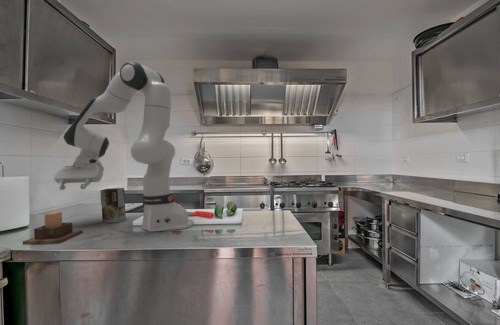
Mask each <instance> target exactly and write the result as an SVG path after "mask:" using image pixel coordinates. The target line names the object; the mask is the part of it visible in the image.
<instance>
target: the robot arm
mask: <svg viewBox="0 0 500 325" xmlns="http://www.w3.org/2000/svg"><path fill="white" fill-rule="evenodd" d="M165 82H166V81H165V79H164V77H162V75H161V74H160V73H159V72H157V71H154V70H153V69H151V68H150V67H148V66H146V65H143V64H141V63H139V62H135V61H127V62H125V63H123V65H121V68H120V70H119V71H118V72H116V73H115V74H114V76H113V77H112V79H111V80H110V81H109V83H108V85H107V87H106V90H105V91H104V92H103V93H102V94H100V95H99V96H94V97H92V98H91V99H90V100H89V102H88V103H86V105H85V106H84V108H83V109H82V110H81V112H80V113H79V115H78V116H77V117H76V119H74V121H73V122H72V124H70V125H69V126H68V127H67V128H66V129H65V131H64V133H63V140H64V142H65V143H66V144H67V145H69V146H72V147H76V148H78V149H80V151H79V154H78V155H77V156H76V158H75V159H74V162H73V163H72V165H65V166H63V167H61V168H60V169H59V170H58V171H57V172H56V174H55V175H54V176H53V180H54V181H55V182H56V183H57V184H59V186H58V188H59V190H60V191H64V190H65V189H66V188H67V187H66V186H65V185H66V184H77V183H81V184H80V186H79V187H80V189H81V190H85V189H86V188H87V187H88V186H89V185H91V183H99V182H100V181H101V180H102V178H103V176H104V171H105V168H104V166H103V164H102V163H101V161H100V160H99V159H100V158H102V157H104V156H105V155H106V151H107V150H108V148H109V145H110V141H109V139H108V137H107V136H105V135H103V134H100V133H98V132H95V131H93V130H91V129H88V128H87V127H85V124H86V123H87V121H88V120H89V118H90V117H91V116H92V115H93V114H95V113H107V114H119V113H122V112H124V111H125V110H127V108H128V107H129V105H130V103H131V101H132V99H133V97H134V95H135V93H137V92H141V93H143V94H144V105H143V106H144V108H143V109H144V110H143V119H142V124H141V125H142V126H141V129H140V132H139V135H138V137H137V139H136V140H135V141H134V142H133V144H132V146H131V149H130V154H131V157H132V158H133V160H134V161H136V162H138V163H141V164H143V165H144V164H145V165H147V169H146V172H145V173H144V175H143V178H142V184H143V185H142V186H143V188H142V189H143V196H142V208H143V218H142V224H141V227H140V228H141V229H142V230H144V231H145V230H146V231H147V232H162V231H173V230H174V231H175V230H183V229H188V228H190V227H192V226H193V225H194V223H195V222H194V220H193V219H191V218H189V214H188V211H187V209H186V208H184V207H183V206H181V204H178V203H177V202H175V197H176V196H175V195H176V194H172V193H170V172H171V167H172V161H173V158H174V157H175V155H176V148H175V146H174V145H173V144H172V143H171V142H170V141H167V140H165V135H166V132H167V130H169V127H170V122H171V112H172V111H171V110H172V109H171V108H172V97H171V90H170V87H169V86H168V85H167V84H166V83H165Z"/></svg>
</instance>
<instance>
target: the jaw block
mask: <svg viewBox="0 0 500 325" xmlns="http://www.w3.org/2000/svg"><path fill="white" fill-rule="evenodd" d="M62 223H63V212H62V211H56V212H54V211H53V212H48V213H45V214H44V225H45V228H56V227H59V226H61V225H62Z"/></svg>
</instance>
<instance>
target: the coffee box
mask: <svg viewBox="0 0 500 325" xmlns="http://www.w3.org/2000/svg"><path fill="white" fill-rule="evenodd" d="M99 191H100V203H101V204H100V205H101V215H102V216H101V217H102V218H101V219H102V223H120V222H122V221H126V219H127V215H126V212H127V211H126V201H125V200H126V198H125V187H120V188H119V187H117V188H115V187H114V188H104V189H101V190H99Z"/></svg>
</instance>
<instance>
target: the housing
mask: <svg viewBox="0 0 500 325" xmlns="http://www.w3.org/2000/svg"><path fill="white" fill-rule="evenodd" d="M33 232H34V233H33V234H34V235H33V237H31V238H28V239H26V240H23V241H22V245H23V244H32V245H49V244H48V243H60V244H62V243H64V242H66V241H68V240H70V238H71V239H73V238H74V237H76V236H79V235H81V234H84V231H83V229H80V230H79V229H78V230H77V229H75V230H73V222H62V225H61V226H59V227H56V228H45V224H44V225H42V226H38V227H35V228H33ZM61 242H62V243H61Z"/></svg>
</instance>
